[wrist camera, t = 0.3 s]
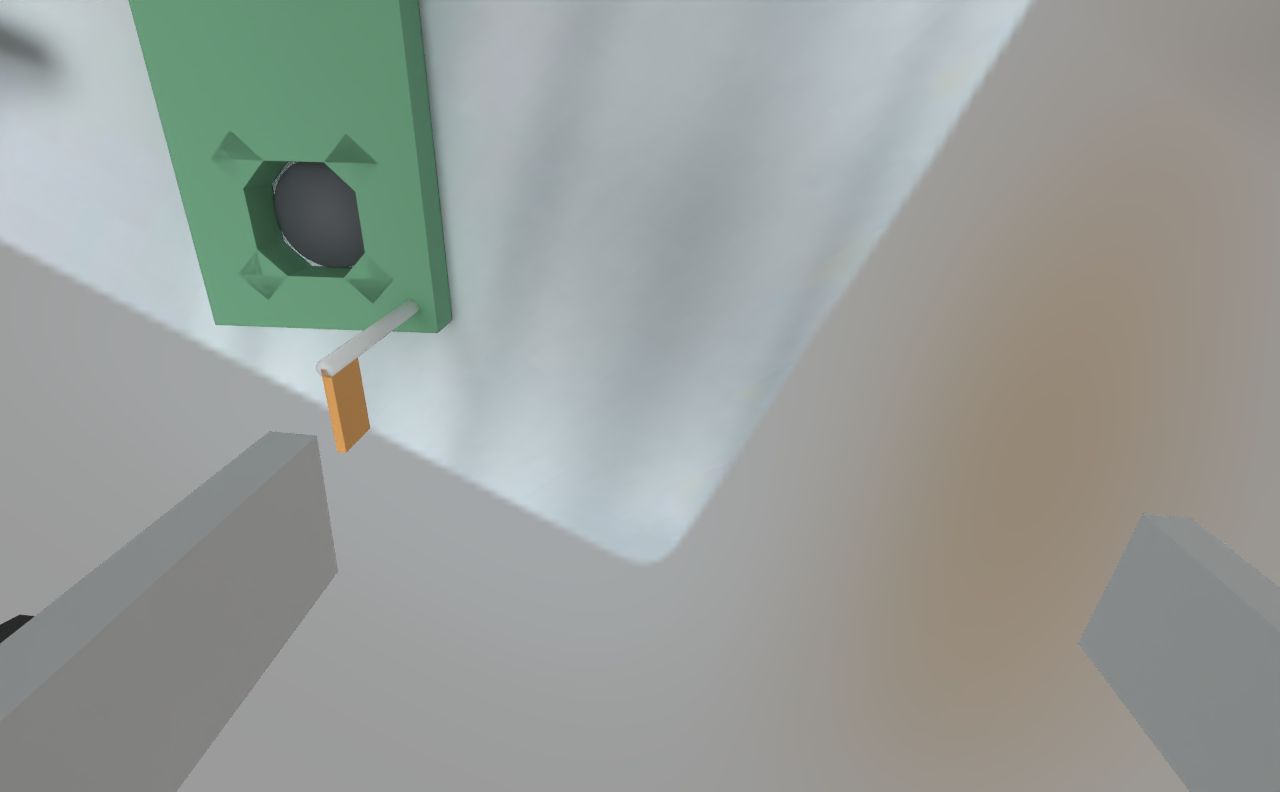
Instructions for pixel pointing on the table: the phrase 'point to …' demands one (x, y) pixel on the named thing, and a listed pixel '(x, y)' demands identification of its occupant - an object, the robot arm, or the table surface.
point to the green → (305, 169)
